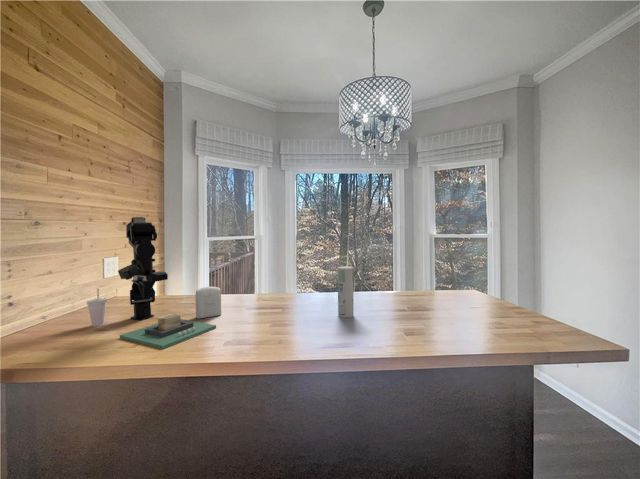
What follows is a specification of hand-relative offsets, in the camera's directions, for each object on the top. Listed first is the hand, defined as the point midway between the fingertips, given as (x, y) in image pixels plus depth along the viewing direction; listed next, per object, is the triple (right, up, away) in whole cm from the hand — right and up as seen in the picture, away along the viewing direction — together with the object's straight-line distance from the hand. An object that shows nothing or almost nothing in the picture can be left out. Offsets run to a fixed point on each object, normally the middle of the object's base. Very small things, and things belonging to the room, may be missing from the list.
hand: (145, 298), depth 119 cm
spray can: (+75, -10, +14) cm, 77 cm away
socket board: (+12, -11, -5) cm, 17 cm away
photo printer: (+19, -10, +15) cm, 26 cm away
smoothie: (-20, -11, +4) cm, 24 cm away
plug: (+12, -10, -5) cm, 16 cm away
